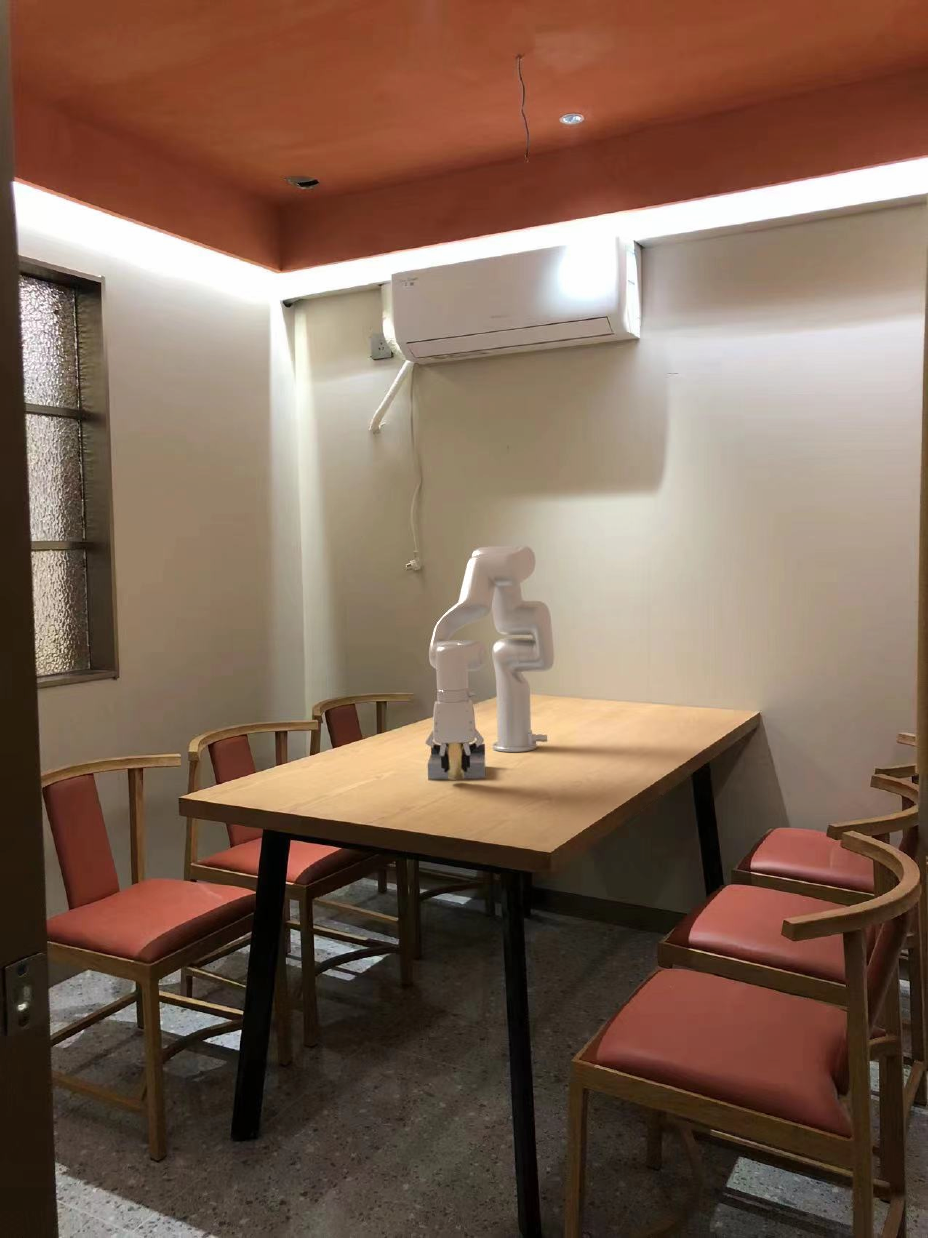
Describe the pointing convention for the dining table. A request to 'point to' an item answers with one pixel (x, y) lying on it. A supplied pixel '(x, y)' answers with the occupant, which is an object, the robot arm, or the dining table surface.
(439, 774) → the jig
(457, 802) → the dining table surface
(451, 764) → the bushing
